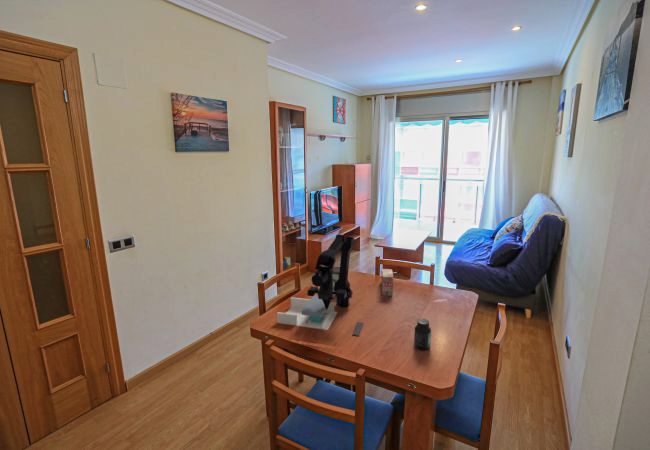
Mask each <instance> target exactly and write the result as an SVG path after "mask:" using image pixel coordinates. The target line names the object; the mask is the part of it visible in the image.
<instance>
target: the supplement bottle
mask: <svg viewBox="0 0 650 450" xmlns="http://www.w3.org/2000/svg"><path fill="white" fill-rule="evenodd" d="M413 336H414V337H413V346H414V348H415V349H417V350H419V351H428V350H430V348H431V340H432V339H431V336H432V329H431V327H430V322H429V320H428V319H425V318H419V319H417V322H416V325H415V326H414V334H413Z"/></svg>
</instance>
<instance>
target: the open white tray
mask: <svg viewBox="0 0 650 450" xmlns="http://www.w3.org/2000/svg"><path fill="white" fill-rule="evenodd" d="M310 299H311V298H310ZM310 299H309V298H301V297H293V296H292V297H290V307H289V309H288V310H287V311H286V312H280V311H278V312H277V313H276V319H277V320H276V321H277V322H276V323H277V324H284V325H290V326H297V327H303V328H310V329H317V330H325V331H328V330H329V329H330V327H331V325H332V324H333V321H334V319H335V318H336V316H337V314H338V311H335V302H334V301H331V303H330V305H329V307H328V309H326V311H325V312H324V314H323V319H322V321H321V322H320V323H318V322H311V316H309V315H302V310H303V308H304V307H305V306H306V305H307V303H308V302H309V301H310Z"/></svg>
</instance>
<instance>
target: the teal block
mask: <svg viewBox="0 0 650 450" xmlns="http://www.w3.org/2000/svg"><path fill="white" fill-rule="evenodd" d="M322 319H323V316H322V317H316V316H311V322H318V323H320V322H321V321H322Z"/></svg>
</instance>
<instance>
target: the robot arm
mask: <svg viewBox="0 0 650 450" xmlns="http://www.w3.org/2000/svg"><path fill="white" fill-rule="evenodd" d="M355 243H356V238H354V236H353V235H352V236H351V235H345V234H339V233H338V234H336V235H335V238H334V239H333V241H332V242H331V244H330V246H329V247H327V249H326V250H324V251H322V252H321V253H320V254H319V255H318V258H317V260H316V265H315V267H314V268H315V269H314V270H316V271H315V272H314V275H313V276H312V277H311V280H310V281H311V283H312V285H313V286H312V285H311V286H310V287H309V288H308V289H307V292H306V295H307V296H308V297H313V296H316V294H317V296H318V299H322V301H323V302H324V305H325V307H326V309H328V307H329V305H330V302H332V300H334V298H335V297H336V299H335V301H336V306H338V307H341V308H347V307H350V306H351V303H350V299H352V298H353V290H352V289H351V283H350V282H349V279H348V277H349V267H350V258H351V257H350V255H351V252H352V251H353V250H354V248H355ZM340 251H341V252H340ZM338 252H340V261H339V263H340V264H339V267H340V271H339V279H338V280H337V281H336V282H335V286H334V291H333V268H334V267H335V263H336V262H337V261H336V256H337V254H338Z"/></svg>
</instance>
